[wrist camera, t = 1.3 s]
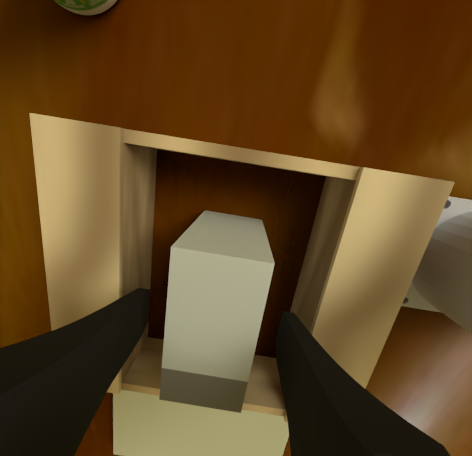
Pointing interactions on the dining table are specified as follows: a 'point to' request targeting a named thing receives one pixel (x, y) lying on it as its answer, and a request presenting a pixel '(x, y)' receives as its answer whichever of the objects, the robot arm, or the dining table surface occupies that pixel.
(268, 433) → the sage board
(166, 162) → the dining table surface
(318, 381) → the robot arm
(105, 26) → the dining table surface
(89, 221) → the carton
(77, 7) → the supplement bottle
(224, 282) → the block
